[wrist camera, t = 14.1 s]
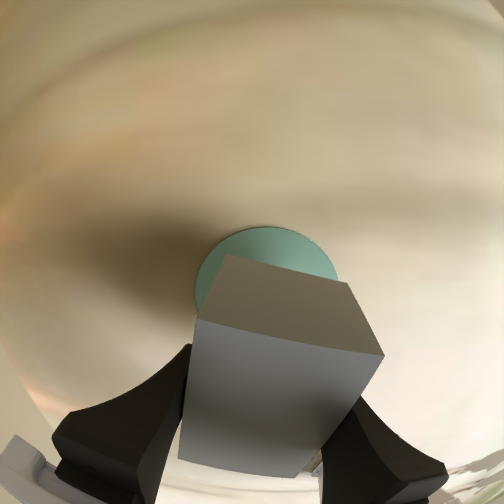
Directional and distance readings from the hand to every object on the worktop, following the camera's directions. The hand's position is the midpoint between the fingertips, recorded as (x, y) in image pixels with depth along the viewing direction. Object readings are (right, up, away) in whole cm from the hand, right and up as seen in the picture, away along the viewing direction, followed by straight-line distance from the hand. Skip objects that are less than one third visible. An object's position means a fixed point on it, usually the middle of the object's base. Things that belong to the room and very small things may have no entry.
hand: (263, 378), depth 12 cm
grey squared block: (0, +1, +3) cm, 3 cm away
